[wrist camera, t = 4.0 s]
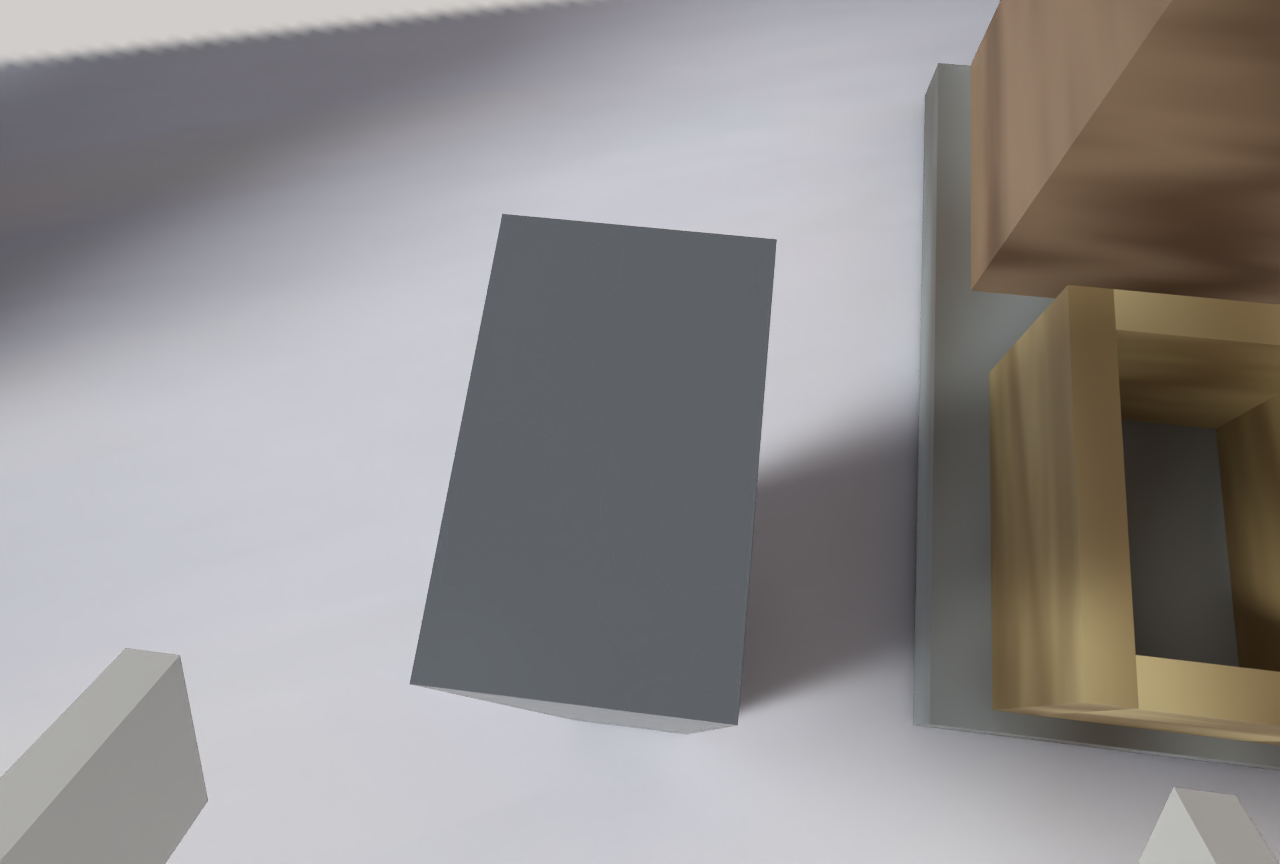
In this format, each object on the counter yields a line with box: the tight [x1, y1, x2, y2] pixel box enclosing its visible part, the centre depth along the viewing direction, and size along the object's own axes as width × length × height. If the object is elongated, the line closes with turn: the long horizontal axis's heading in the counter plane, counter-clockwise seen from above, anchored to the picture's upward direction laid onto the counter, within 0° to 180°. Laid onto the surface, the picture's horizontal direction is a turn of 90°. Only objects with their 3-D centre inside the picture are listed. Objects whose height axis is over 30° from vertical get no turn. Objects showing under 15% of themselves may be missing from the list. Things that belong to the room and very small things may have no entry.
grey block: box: [410, 214, 777, 734], centre depth 16 cm, size 3×5×16 cm, turn 173°
